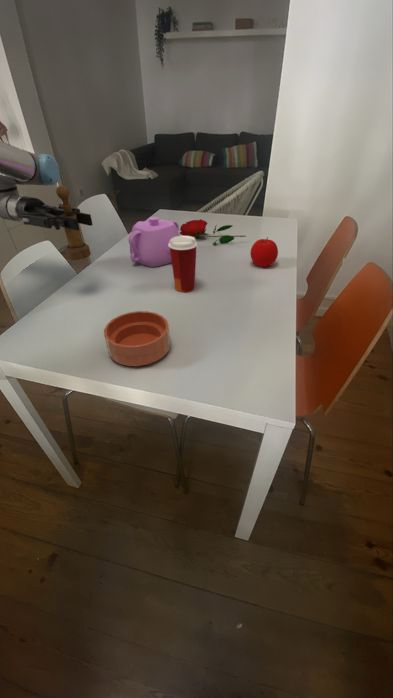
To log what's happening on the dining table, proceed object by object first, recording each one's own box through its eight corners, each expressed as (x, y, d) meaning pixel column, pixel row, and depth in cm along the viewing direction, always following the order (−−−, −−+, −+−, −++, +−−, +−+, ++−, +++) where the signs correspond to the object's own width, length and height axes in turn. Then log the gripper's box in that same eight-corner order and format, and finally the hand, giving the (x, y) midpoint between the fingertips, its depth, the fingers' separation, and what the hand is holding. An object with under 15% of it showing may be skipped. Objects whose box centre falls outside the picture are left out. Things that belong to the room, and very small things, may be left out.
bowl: (101, 368, 69) (95, 346, 66) (117, 331, 81) (113, 310, 77) (166, 369, 69) (163, 347, 65) (173, 332, 80) (171, 311, 76)
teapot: (138, 248, 126) (133, 210, 118) (190, 248, 125) (189, 210, 116) (126, 267, 111) (119, 226, 103) (185, 268, 110) (183, 226, 101)
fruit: (249, 269, 108) (251, 240, 102) (249, 259, 115) (252, 231, 109) (276, 270, 107) (280, 241, 101) (275, 260, 114) (279, 232, 108)
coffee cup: (201, 283, 100) (201, 236, 91) (192, 295, 94) (191, 246, 85) (177, 280, 103) (174, 233, 93) (167, 292, 97) (162, 243, 87)
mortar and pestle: (73, 251, 93) (55, 183, 82) (94, 251, 93) (79, 183, 82) (63, 259, 88) (42, 188, 77) (85, 260, 88) (67, 189, 76)
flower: (248, 215, 119) (181, 213, 132) (240, 234, 116) (171, 230, 129) (252, 234, 126) (188, 230, 140) (244, 252, 123) (179, 246, 136)
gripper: (56, 217, 100) (110, 228, 90) (6, 231, 89) (61, 246, 79) (49, 190, 95) (104, 199, 85) (-5, 203, 84) (52, 215, 74)
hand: (83, 222), depth 82 cm, fingers closed on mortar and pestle, 4 cm apart
